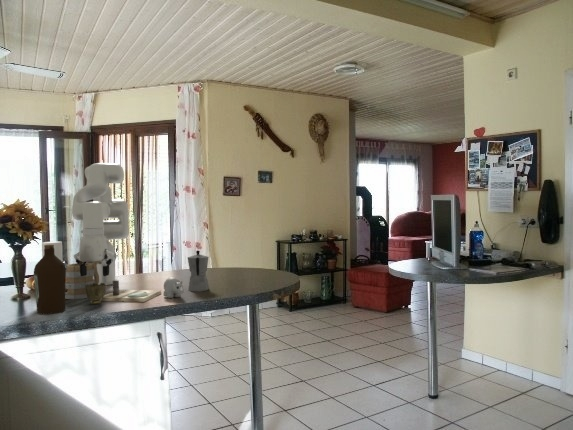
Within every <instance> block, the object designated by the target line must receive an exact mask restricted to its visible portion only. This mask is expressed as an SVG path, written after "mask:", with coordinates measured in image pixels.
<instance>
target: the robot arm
mask: <svg viewBox="0 0 573 430" xmlns="http://www.w3.org/2000/svg"><path fill="white" fill-rule="evenodd" d="M124 171H125V170H124V168H123V167H122V165H121V164H119V163H115V162H114V163H113V162H112V163H111V162H97V163H93V164H90V165H89V166H86V167H85V169H84V175H85V176H84V177H85V179H86V185H84V186H83V187H82V188H80V189H79V190H78V191H77V192H76V193H75V194H74V196H73V199H72V204H71V205H72V206H71V215H72V218H73V219H75V220H76V221H82V229H81V230H80V234H82V235H83V236H81V238H80V242H79V250H78V252H76V253H75V254H73V258H74V260H75V263H78V265H79V266H80V275H81V276H85V275H87V266H86V265H85V264H86V263H92V262H99V261H101V262H102V264H97V272H98V275H99V283H98V285H100V284H101V283H102V284H103V283H104V284H105V286H109V285H113V281H115V280H118V281H120V280H119V279H116V252H115V250H116V249H115V246H114V245H113V243H112V242H110V240H111V241H112V240H125V239H127V238H128V237H129V234H130V224H129V223H130V222H129V219H130V218H129V205H128V203H127V201H126V200H125V199H122V198H112V188H111V187H110V186H109V184H122V183H123V182H124V179H125V172H124ZM91 200H92V201H91ZM106 219H113V220H106ZM114 219H117V220H114ZM93 279H94V276H93Z"/></svg>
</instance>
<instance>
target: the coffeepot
mask: <svg viewBox="0 0 573 430" xmlns="http://www.w3.org/2000/svg"><path fill="white" fill-rule="evenodd" d="M195 251H196V252H195V253H196V254H194V255H191V256H188V257H186V258H187V263H188V268H189V272H190V277H189V283H188V291H190V292H193V293H194V292H205V291H206V292H207V291H208V290H209V289H210V286H209V281H208V275H207V274H206V272H207V270H208V265H209V264H208V263H209V256H208V255H203V254H200V250H198V249H197V250H195Z"/></svg>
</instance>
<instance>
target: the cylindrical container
mask: <svg viewBox="0 0 573 430" xmlns="http://www.w3.org/2000/svg"><path fill="white" fill-rule="evenodd" d="M44 245H54V254H55V256H56V257H57V258H59V259H60V260H61V261H62V262H63V241H44V242H41V253H42V254H41V255H42V256H41V259H42V258H43V256H44V249H45V247H44ZM63 263H64V262H63Z"/></svg>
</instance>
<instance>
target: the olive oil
mask: <svg viewBox="0 0 573 430" xmlns="http://www.w3.org/2000/svg"><path fill="white" fill-rule="evenodd" d="M44 247H45V249H44V256H43V258H42V257H41V258H40V260H39V261H37V263H36V264H35V265H34V269H33V279H34V280H33V281H34V290H35V301H36V302H35V303H36V313H37V314H38V315H53V314H58V313H62V312H64V311H65V310H66V299H65V293H66V286H65V284H66V281H67V277H66V270H67V267H66V265H65V263H64V262H62V261H61V260H60V259H59V258H57V257H56V256H55V254H54V245H44Z"/></svg>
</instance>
